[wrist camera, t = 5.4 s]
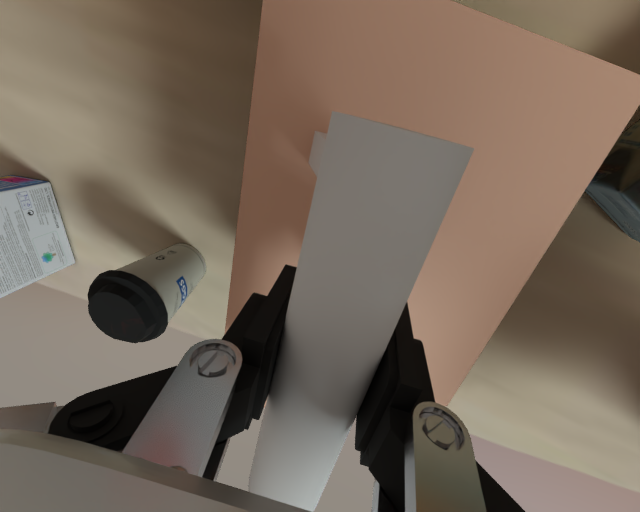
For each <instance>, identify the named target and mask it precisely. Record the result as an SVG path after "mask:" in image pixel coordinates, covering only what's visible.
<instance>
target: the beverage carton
mask: <svg viewBox="0 0 640 512" xmlns="http://www.w3.org/2000/svg"><path fill="white" fill-rule="evenodd" d="M585 192H586V193H587V194H588V195H589V196H590V197H591V198H592V199H594V200H595V202H596V203H597V204H598V205H599V206H600V207H601V208H602V209H603V210H604V211H605V212H606V213H607V214H608V215H609V216H610V217H611V219H612V220H614V221H615V222H616V224H617V225H618V226H619V227H620V228H621V229H622V230H623V231H624V232H625V233H626V234H627V235H628V236H630V237H631V238H633V239H635V240H637V241H639V242H640V120H639V121H638V122H636V123H635V124H634V125H633V126H632V127H630V128H629V129H628V130H627V131H625V132H624V133H623V134H622V135H620V136H619V138H618V139H617V141H616V142H615V144H614V146H613V147H612V149H611V150H610V152H609V153H608V155H607V157H606V158H605V160H604V161H603V163H602V164H601V166H600V168H599V169H598V171H597V172H596V174H595V175H594V177H593V178H592V180H591V182H590V183H589V185H588V186H587V188H586V189H585Z"/></svg>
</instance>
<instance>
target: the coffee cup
mask: <svg viewBox="0 0 640 512" xmlns="http://www.w3.org/2000/svg"><path fill="white" fill-rule="evenodd" d="M205 272H206V264H205V260H204V258H203V256H202V255H201V253H200V252H199V251H198V250H197V249H195V248H194V247H192V246H190V245H187V244H176V245H173V246H171V247H168V248H166V249H164V250H161V251H159V252H157V253H154V254H152V255H150V256H147V257H145V258H143V259H140V260H138V261H136V262H133V263H131V264H129V265H126V266H124V267H122V268H119V269H117V270H109V271H106V272H104V273H101V274H99V275H98V276H97V277H96V279H95V280H94V281H93V282H92V284H91V286H90V288H89V292H88V300H89V305H88V309H89V314H90V316H91V318H92V321H93V322H94V323H95V324H96V326H97V327H98V328H99V329H100V330H101V331H103V332H104V333H105V334H106V335H108V336H110V337H112V338H114V339H118V340H122V341H126V342H131V343H138V342H145V341H149V340H152V339H155V338H157V337H158V336H160V335H161V334H162V333H164V331H165V329H166V327H167V325H168V322H169V321H170V319H171V318H172V317H173V316H174V314H175V313H176V312H177V310H178V309H179V308H180V306H181V305H182V304H183V302H184V301H185V300H186V298H187V297H188V296H189V294H190V293H191V292H192V291H193V289H194V288H195V287H196V285H197V284H198V283H199V281H200V280H201V279H202V277H203V276H204V274H205Z"/></svg>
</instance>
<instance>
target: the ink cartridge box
mask: <svg viewBox="0 0 640 512" xmlns="http://www.w3.org/2000/svg"><path fill="white" fill-rule="evenodd" d="M72 264H75V259H74V256H73V253H72V250H71V247H70V244H69V241H68V237H67V234H66V231H65V228H64V225H63V222H62V219H61V215H60V212H59V209H58V206H57V203H56V200H55V197H54V194H53V191H52V187H51V184H50V183H49V182H47V181H42V180H36V179H30V178H25V177H19V176H13V175H8V176H2V177H0V298H2V297H4V296H6V295H8V294H10V293H13V292H15V291H17V290H19V289H21V288H23V287H25V286H27V285H29V284H31V283H34V282H36V281H38V280H40V279H42V278H44V277H46V276H48V275H50V274H53V273H55V272H57V271H59V270H61V269H63V268H65V267H68V266H70V265H72Z"/></svg>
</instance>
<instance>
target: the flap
mask: <svg viewBox="0 0 640 512" xmlns="http://www.w3.org/2000/svg"><path fill="white" fill-rule="evenodd" d="M639 105H640V74H637V73H634V72H632V71H629V70H627V69H624V68H622V67H619V66H617V65H614V64H612V63H609V62H607V61H604V60H601V59H599V58H596V57H594V56H591V55H589V54H586V53H584V52H581V51H579V50H576V49H574V48H571V47H568V46H566V45H563V44H561V43H558V42H556V41H553V40H551V39H548V38H546V37H543V36H541V35H538V34H535V33H533V32H530V31H528V30H525V29H523V28H520V27H518V26H515V25H513V24H510V23H508V22H505V21H502V20H500V19H497V18H495V17H492V16H490V15H487V14H485V13H482V12H480V11H477V10H475V9H472V8H469V7H467V6H464V5H462V4H459V3H457V2H454V1H452V0H263V4H262V12H261V21H260V30H259V39H258V47H257V56H256V65H255V73H254V82H253V91H252V100H251V108H250V117H249V126H248V135H247V143H246V152H245V161H244V169H243V178H242V187H241V196H240V204H239V213H238V222H237V231H236V239H235V248H234V257H233V265H232V274H231V283H230V292H229V300H228V309H227V318H226V326H225V334H226V332H227V331H228V329H229V328H230V326H231V325H232V323H233V322H234V320H235V319H236V317H237V316H238V314H239V313H240V311H241V310H242V308H243V307H244V305H245V304H246V302H247V301H248V299H249V298H250V296H251V295H252V294H253V293H254V292H255V293H258V294H262V295H265V296H267V295H268V294H269V292H270V290H271V289H272V287H273V285H274V283H275V282H276V280H277V278H278V276H279V275H280V273H281V271H282V270H283V268H284V266H285V265H286V264H287V265H290V266H294V267H297V269H296V273H295V278H294V282H293V287H292V291H291V295H290V300H289V304H288V309H287V313H286V319H285V324H284V328H283V333H282V337H281V341H280V346H279V350H278V355H277V359H276V364H275V368H274V373H273V377H272V381H271V386H270V390H269V394H268V397H267V400H266V402H265V405H264V407H265V410H264V415H263V420H262V424H261V428H260V433H259V437H258V442H257V446H256V450H255V455H254V459H253V464H252V468H251V473H250V477H249V485H248V487H249V492H251V493H254V494H257V495H260V496H263V497H267V498H270V499H273V500H276V501H279V502H282V503H286V504H289V505H292V506H295V507H298V508H301V509H305V510H308V511H311V512H313V511H314V510H315V508H316V506H317V504H318V501H319V499H320V497H321V494H322V492H323V490H324V487H325V485H326V483H327V481H328V479H329V476H330V474H331V472H332V470H333V467H334V465H335V463H336V461H337V458H338V455H339V454H340V452H341V449H342V447H343V445H344V442H345V440H346V438H347V436H348V433H349V431H350V429H351V426H352V424H353V422H354V420H355V418H356V415H357V413H358V411H359V409H360V406H361V404H362V402H363V400H364V397H365V395H366V393H367V390H368V388H369V386H370V384H371V381H372V379H373V377H374V375H375V372H376V370H377V368H378V366H379V363H380V361H381V359H382V357H383V354H384V352H385V350H386V348H387V345H388V343H389V341H390V339H391V336H392V334H393V332H394V329H395V327H396V325H397V323H398V320H399V318H400V316H401V314H402V311H403V309H404V307H405V305H406V302H407V303H408V309H409V314H410V320H411V325H412V331H413V337H414V338H415V339H418V340H421V341H422V343H423V347H424V351H425V356H426V361H427V365H428V370H429V375H430V379H431V384H432V389H433V393H434V398H435V403H439V404H441V405H443V406H447V405H448V404H449V402H450V401H451V399H452V398H453V396H454V394H455V393H456V391H457V390H458V388H459V387H460V385H461V384H462V382H463V380H464V379H465V377H466V376H467V374H468V373H469V371H470V369H471V368H472V366H473V365H474V363H475V362H476V360H477V358H478V357H479V355H480V354H481V352H482V351H483V349H484V348H485V346H486V344H487V343H488V341H489V340H490V338H491V337H492V335H493V333H494V332H495V330H496V329H497V327H498V326H499V324H500V322H501V321H502V319H503V318H504V316H505V315H506V313H507V312H508V310H509V308H510V307H511V305H512V304H513V302H514V301H515V299H516V297H517V296H518V294H519V293H520V291H521V290H522V288H523V286H524V285H525V283H526V282H527V280H528V279H529V277H530V276H531V274H532V272H533V271H534V269H535V268H536V266H537V265H538V263H539V261H540V260H541V258H542V257H543V255H544V254H545V252H546V250H547V249H548V247H549V246H550V244H551V243H552V241H553V240H554V238H555V236H556V235H557V233H558V232H559V230H560V229H561V227H562V225H563V224H564V222H565V221H566V219H567V218H568V216H569V214H570V213H571V211H572V210H573V208H574V207H575V205H576V204H577V202H578V200H579V199H580V197H581V196H582V194H583V193H584V191H585V189H586V188H587V186H588V185H589V183H590V182H591V180H592V178H593V177H594V175H595V174H596V172H597V171H598V169H599V168H600V166H601V164H602V163H603V161H604V160H605V158H606V157H607V155H608V153H609V152H610V150H611V149H612V147H613V146H614V144H615V142H616V141H617V139H618V138H619V136H620V135H621V133H622V132H623V130H624V128H625V127H626V125H627V124H628V122H629V121H630V119H631V117H632V116H633V114H634V113H635V111H636V110H637V108H638V106H639Z"/></svg>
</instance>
